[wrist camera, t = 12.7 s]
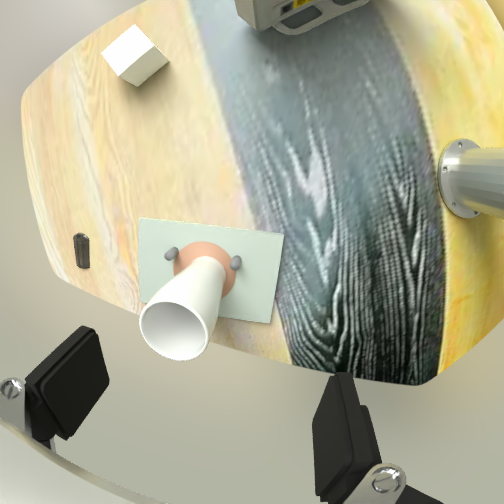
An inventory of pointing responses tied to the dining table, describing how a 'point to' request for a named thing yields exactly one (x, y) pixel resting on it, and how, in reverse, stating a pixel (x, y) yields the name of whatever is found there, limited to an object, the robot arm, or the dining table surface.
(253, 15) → the network device
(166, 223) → the pin nest plate
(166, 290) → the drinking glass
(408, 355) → the dining table surface
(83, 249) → the block
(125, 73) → the white cube
